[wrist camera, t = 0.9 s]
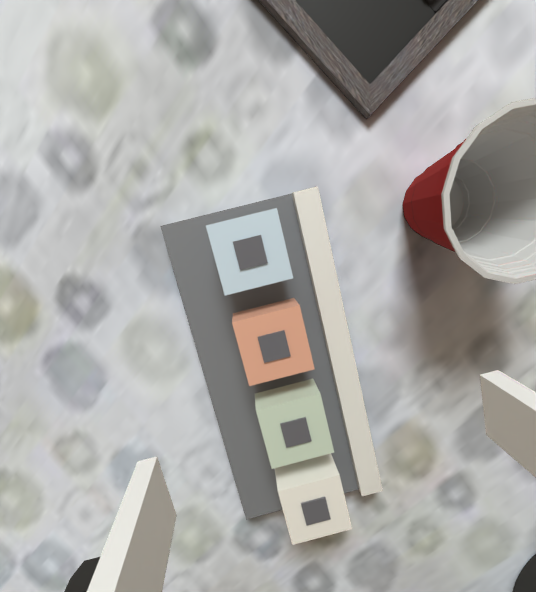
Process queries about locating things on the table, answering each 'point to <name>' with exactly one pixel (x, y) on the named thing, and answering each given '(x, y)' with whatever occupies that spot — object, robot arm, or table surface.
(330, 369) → the keypad base
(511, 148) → the plastic cup
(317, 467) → the key ivory
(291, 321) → the key terracotta
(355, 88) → the picture frame
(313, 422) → the key sage
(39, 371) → the table surface
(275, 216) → the key blue
